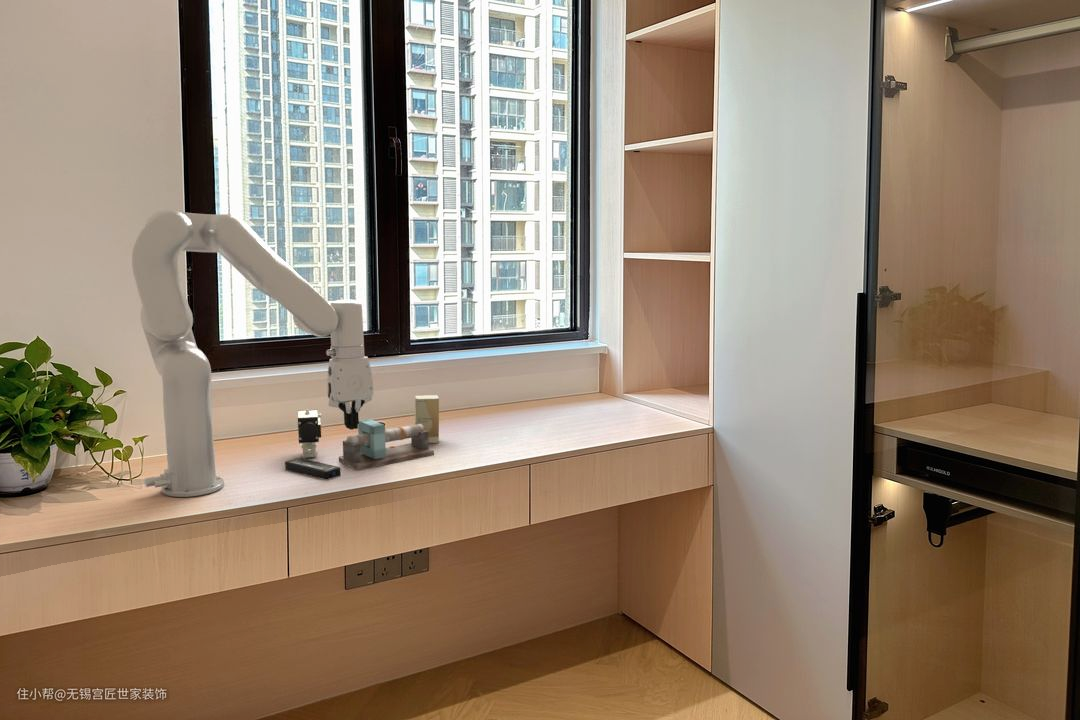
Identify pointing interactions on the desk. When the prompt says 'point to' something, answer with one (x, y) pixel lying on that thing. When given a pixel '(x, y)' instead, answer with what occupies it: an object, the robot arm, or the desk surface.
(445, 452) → the desk surface
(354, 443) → the pipe stand
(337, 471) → the multiport hub
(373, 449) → the collar
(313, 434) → the pneumatic valve
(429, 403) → the skincare box
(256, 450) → the desk surface
